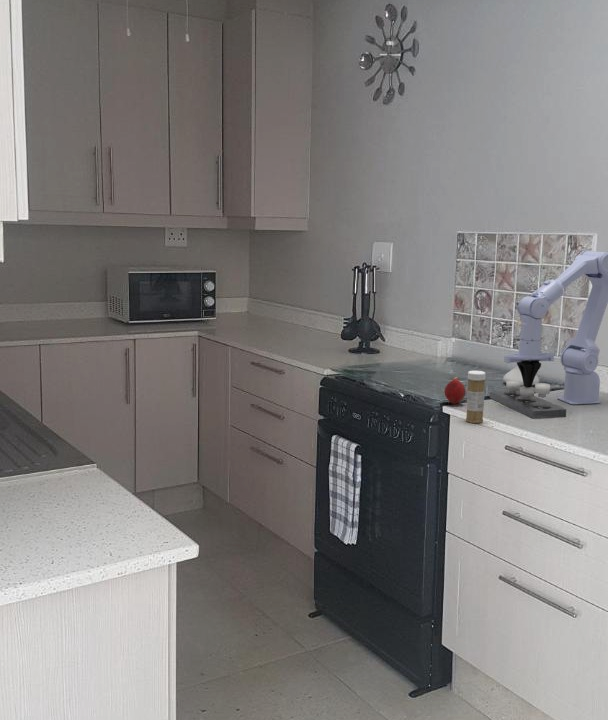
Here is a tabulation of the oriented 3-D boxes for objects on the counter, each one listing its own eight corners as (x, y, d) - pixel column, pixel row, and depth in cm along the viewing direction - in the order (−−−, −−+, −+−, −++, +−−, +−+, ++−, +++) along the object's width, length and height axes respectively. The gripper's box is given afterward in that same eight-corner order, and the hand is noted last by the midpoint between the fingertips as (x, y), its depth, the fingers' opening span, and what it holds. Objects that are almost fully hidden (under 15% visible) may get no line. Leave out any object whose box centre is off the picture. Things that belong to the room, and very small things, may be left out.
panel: (520, 396, 251) (520, 389, 250) (565, 416, 227) (566, 409, 226) (489, 397, 248) (490, 391, 248) (532, 418, 224) (533, 411, 224)
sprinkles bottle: (477, 418, 223) (479, 369, 221) (486, 423, 219) (489, 372, 217) (462, 420, 222) (464, 370, 219) (471, 424, 218) (473, 373, 215)
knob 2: (544, 394, 231) (545, 382, 231) (552, 397, 228) (553, 385, 227) (531, 395, 230) (532, 383, 230) (539, 398, 227) (539, 386, 226)
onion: (458, 407, 235) (460, 380, 234) (440, 404, 239) (441, 377, 237) (468, 404, 240) (469, 376, 238) (450, 401, 243) (451, 374, 242)
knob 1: (515, 391, 247) (516, 380, 246) (522, 394, 243) (523, 383, 243) (503, 392, 246) (504, 380, 245) (510, 395, 242) (510, 383, 242)
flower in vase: (495, 383, 269) (499, 306, 264) (519, 379, 275) (523, 304, 271) (526, 391, 258) (531, 310, 254) (551, 386, 264) (556, 308, 260)
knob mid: (529, 397, 239) (530, 385, 239) (536, 400, 236) (537, 388, 235) (516, 398, 238) (517, 386, 238) (523, 401, 235) (524, 389, 234)
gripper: (545, 336, 240) (543, 382, 242) (500, 338, 236) (497, 384, 238) (559, 340, 233) (556, 387, 235) (512, 342, 229) (509, 390, 232)
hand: (527, 386), depth 236 cm, fingers closed
